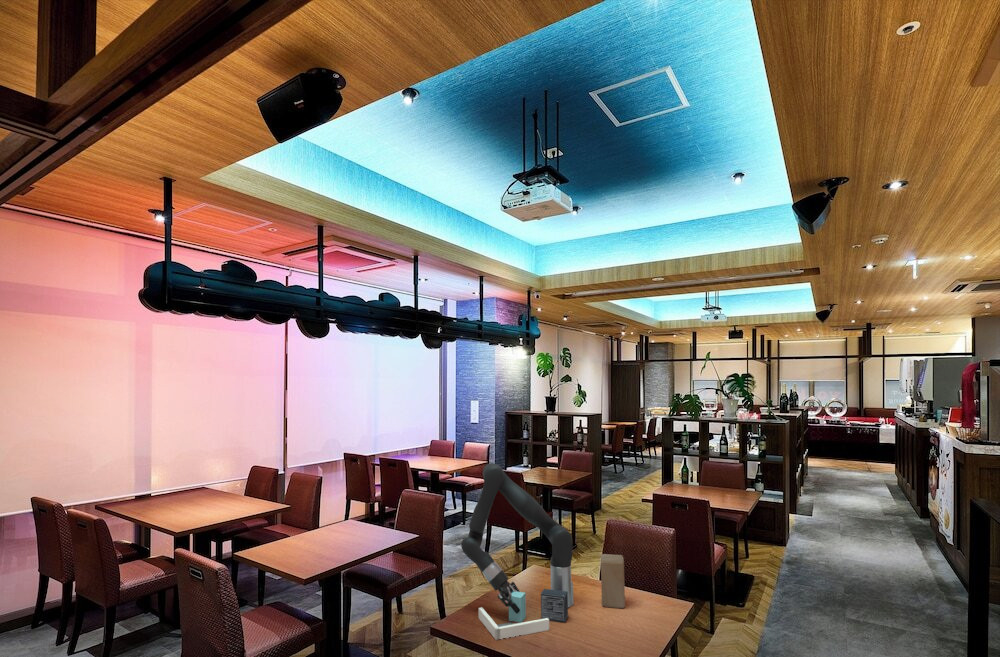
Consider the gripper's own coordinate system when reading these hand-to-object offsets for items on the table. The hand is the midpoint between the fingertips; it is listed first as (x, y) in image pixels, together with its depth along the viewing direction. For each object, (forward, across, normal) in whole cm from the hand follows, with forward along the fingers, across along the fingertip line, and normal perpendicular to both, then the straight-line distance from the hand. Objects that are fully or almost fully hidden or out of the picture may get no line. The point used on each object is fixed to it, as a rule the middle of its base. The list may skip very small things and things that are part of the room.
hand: (521, 609), depth 222 cm
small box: (+12, +7, -6) cm, 15 cm away
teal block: (+2, 0, +4) cm, 5 cm away
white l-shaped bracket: (+2, -5, +4) cm, 7 cm away
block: (+26, +31, -20) cm, 45 cm away
